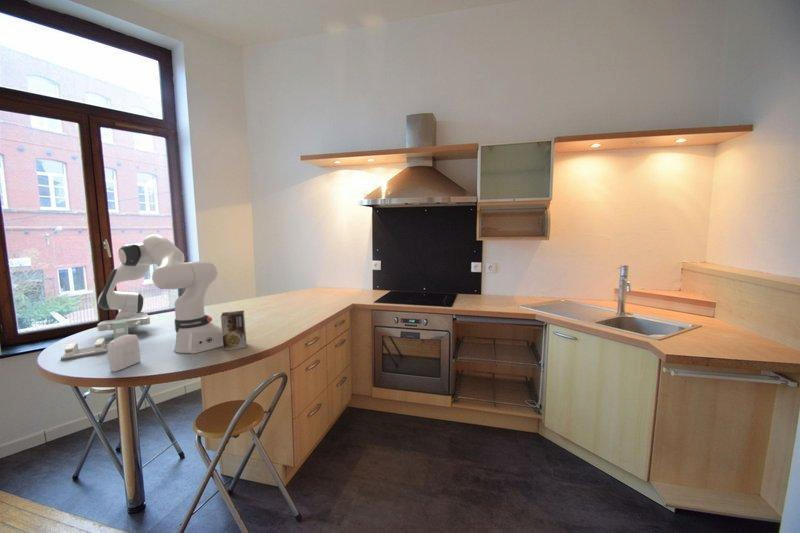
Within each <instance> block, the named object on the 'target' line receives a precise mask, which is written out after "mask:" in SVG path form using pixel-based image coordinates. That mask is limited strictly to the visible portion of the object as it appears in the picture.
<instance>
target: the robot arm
mask: <svg viewBox="0 0 800 533" xmlns="http://www.w3.org/2000/svg"><path fill="white" fill-rule="evenodd" d="M118 259H119V261H120V262H121V264H120V265H119V266H118V267H114V268H113V269H112V270H111V271H110V274H109V276H108V278H107V281H106V283H105V285H104V287H103V290H102V292H101V293H100V294H99V296H98V298H97V306H98V307H99V308H101V310H103V311H106V310H107V311H109V310H118V311H119V310H120V311H119V312H118V313H117V315H116V316H115V318H114V319H109V320H103V321H100V322H99V323H97V325H96V327H97V331H98V332H104V331H105V332H106V331H113V322H114V321H117V320H125V319H127V325H128V330H129V329H131V328H135V327H139V326H146V325H150V324H151V320H150V315H149V314H148V313H147V312H146V311H143V308H144V296H143V295H142V294H141V293H140V292H131V291H118V290H117V291H116V290H115V288H116V286H117V285H118V284H119V283H123V282H128V281H137V280H140V279H142V278H144V277H145V276H147V274H148V272H149V270H150V266H151V265H156V266H157V267H156V268H154V270H153V272H152V275H151V279H152V282H153V285H154V286H156V287H157V288H158V289H159V290H178V289H184V292H183V293H182V294H181V295H180V296H179V297H177V298H176V299H175V301H174V305H173V306H174V314H175V315H174V317H175V318H174V331H175V333H176V335H175V336H176V337H175V344H174V348H173V351H174V352H175V353H180V354H197V353H201V352H206V351H209V350H213V349H217V348H221V347H223V335H222V326H219V325H217V324H215V323H213V322H212V321H213V318H212V317H211V316H210V315H208V314H205V313H206V312H205V299H206V298H205V297H206V294H207V291H208V288H209V287H211V285H212V283H213V282H214V281H216V279H217V278H218V277H217V276H218V269H217V267H216V265H215V264H214V263H212V262H210V261H200V260H199V261H189V262H185V255H184V252H183V251H181V250H180V248H178V247H177V246H176V245H175V244H174V243H173V242H171V241H170V239H168V238H166V237H164V236H162V235H159V234H150V235H148V236H146V237H145V238H144V240H143V241H142V242H136V243H129V244H124V245H122V246H121V247H120V248H119V249H118Z"/></svg>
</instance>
